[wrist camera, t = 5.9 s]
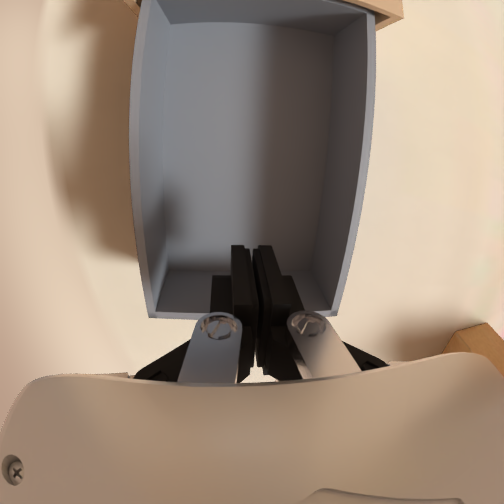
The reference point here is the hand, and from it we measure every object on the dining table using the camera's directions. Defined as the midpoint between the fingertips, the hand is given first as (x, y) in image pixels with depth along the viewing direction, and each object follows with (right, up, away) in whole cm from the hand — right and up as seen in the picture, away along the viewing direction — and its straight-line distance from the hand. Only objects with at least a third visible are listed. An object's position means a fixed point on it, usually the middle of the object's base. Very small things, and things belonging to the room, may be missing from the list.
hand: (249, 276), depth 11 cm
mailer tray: (0, +6, +2) cm, 7 cm away
